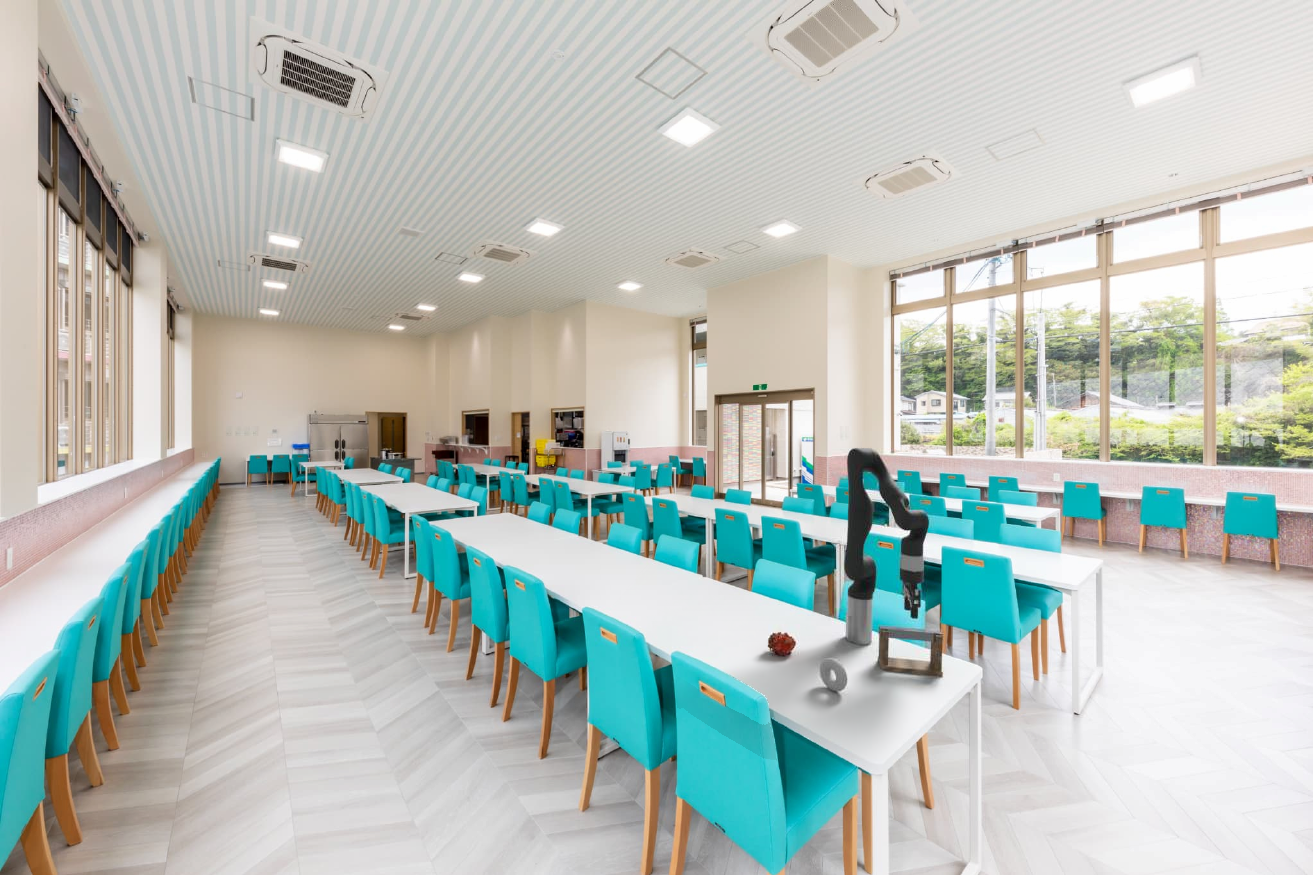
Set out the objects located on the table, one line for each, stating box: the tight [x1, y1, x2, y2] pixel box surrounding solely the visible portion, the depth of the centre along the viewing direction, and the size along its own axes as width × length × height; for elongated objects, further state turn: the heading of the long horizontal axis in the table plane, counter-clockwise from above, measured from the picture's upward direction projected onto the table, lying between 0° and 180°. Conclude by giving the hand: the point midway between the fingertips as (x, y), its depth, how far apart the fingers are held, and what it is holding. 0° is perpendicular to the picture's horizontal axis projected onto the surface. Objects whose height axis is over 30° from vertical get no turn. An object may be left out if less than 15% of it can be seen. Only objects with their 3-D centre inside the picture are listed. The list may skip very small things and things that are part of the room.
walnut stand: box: [877, 630, 944, 677], centre depth 186 cm, size 19×8×13 cm, turn 78°
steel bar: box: [878, 625, 944, 644], centre depth 186 cm, size 20×3×3 cm, turn 78°
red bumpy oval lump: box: [767, 631, 797, 657], centre depth 196 cm, size 8×8×12 cm
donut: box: [819, 657, 848, 693], centre depth 169 cm, size 10×4×10 cm, turn 30°
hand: (910, 614), depth 185 cm, fingers open, 8 cm apart
